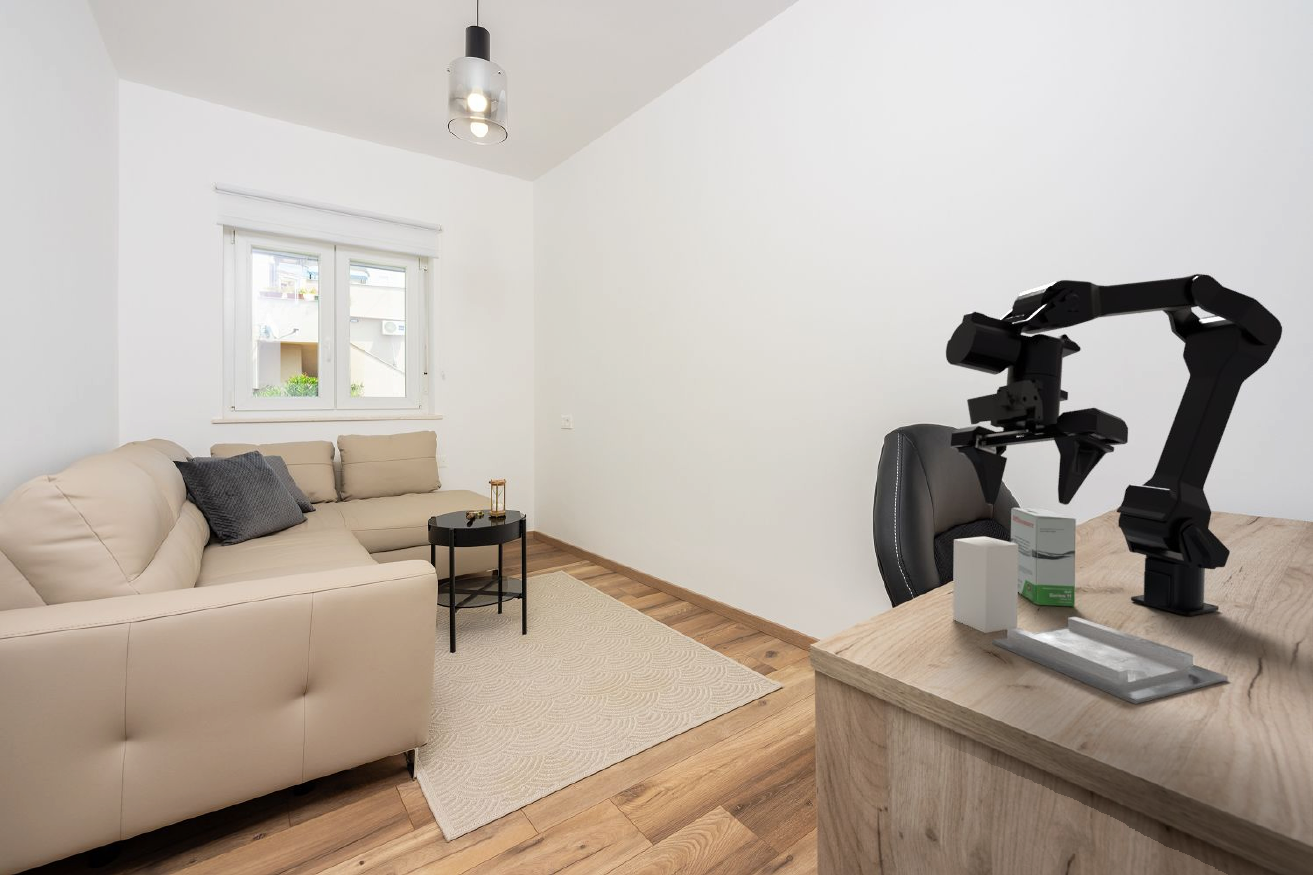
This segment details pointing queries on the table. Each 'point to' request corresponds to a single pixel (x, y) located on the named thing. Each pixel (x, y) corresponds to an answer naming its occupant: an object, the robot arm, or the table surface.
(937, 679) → the table surface
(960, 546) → the block
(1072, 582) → the ink box
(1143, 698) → the rail panel
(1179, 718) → the table surface
